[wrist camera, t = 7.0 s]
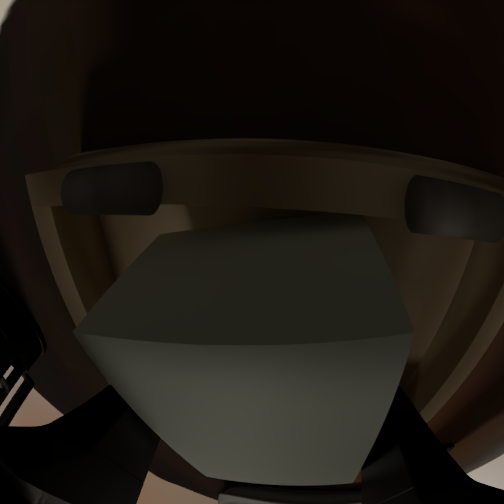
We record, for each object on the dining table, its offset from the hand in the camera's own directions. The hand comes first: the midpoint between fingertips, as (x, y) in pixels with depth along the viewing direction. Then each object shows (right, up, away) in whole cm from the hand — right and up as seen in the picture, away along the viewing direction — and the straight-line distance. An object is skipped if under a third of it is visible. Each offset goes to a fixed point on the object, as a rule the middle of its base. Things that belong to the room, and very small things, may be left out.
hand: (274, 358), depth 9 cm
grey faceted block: (0, +1, +1) cm, 1 cm away
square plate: (+7, -41, +26) cm, 49 cm away
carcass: (0, +2, +3) cm, 3 cm away
